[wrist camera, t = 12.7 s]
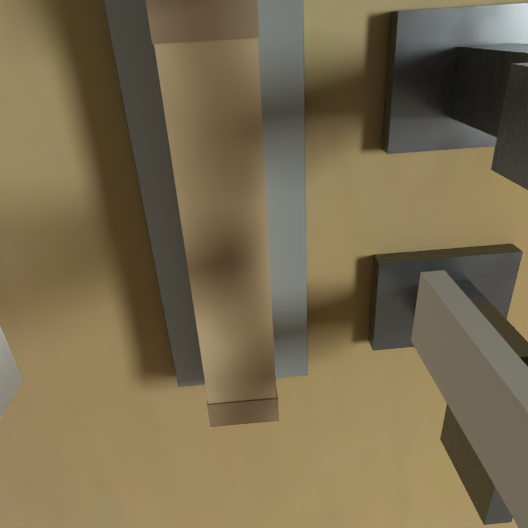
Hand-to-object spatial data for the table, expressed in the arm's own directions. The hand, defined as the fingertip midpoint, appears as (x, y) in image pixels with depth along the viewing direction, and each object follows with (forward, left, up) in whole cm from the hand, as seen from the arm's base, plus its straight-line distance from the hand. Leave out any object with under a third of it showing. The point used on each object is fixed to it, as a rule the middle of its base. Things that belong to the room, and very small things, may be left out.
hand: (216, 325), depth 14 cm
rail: (+1, 0, -9) cm, 9 cm away
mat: (0, 0, -10) cm, 10 cm away
